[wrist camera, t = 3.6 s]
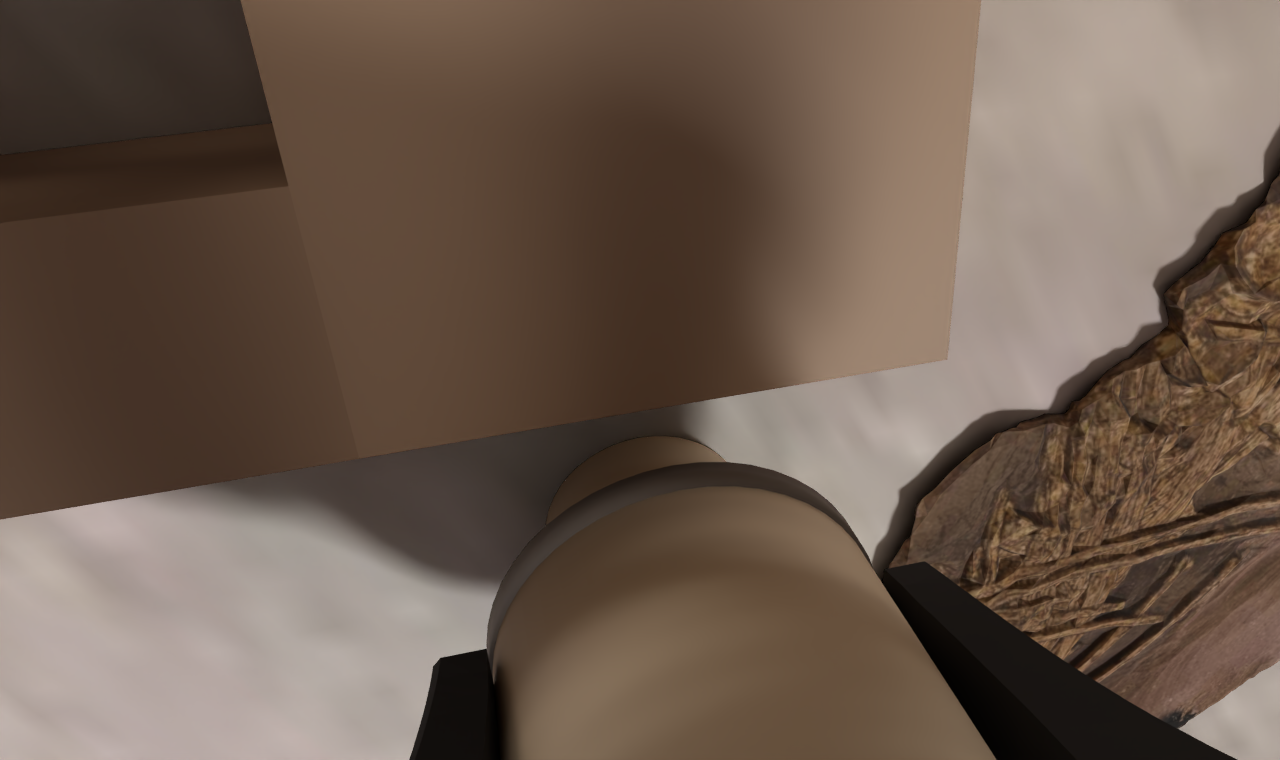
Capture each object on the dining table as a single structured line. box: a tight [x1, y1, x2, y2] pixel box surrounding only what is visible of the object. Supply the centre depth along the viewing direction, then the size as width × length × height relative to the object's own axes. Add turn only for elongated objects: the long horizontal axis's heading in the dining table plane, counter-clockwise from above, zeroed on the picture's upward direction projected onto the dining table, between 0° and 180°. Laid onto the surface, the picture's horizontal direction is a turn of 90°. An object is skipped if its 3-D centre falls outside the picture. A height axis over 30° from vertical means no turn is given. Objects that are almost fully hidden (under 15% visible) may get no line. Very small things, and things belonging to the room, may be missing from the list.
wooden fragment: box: [889, 174, 1280, 729], centre depth 19 cm, size 26×11×1 cm, turn 142°
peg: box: [487, 436, 996, 760], centre depth 13 cm, size 6×6×8 cm
